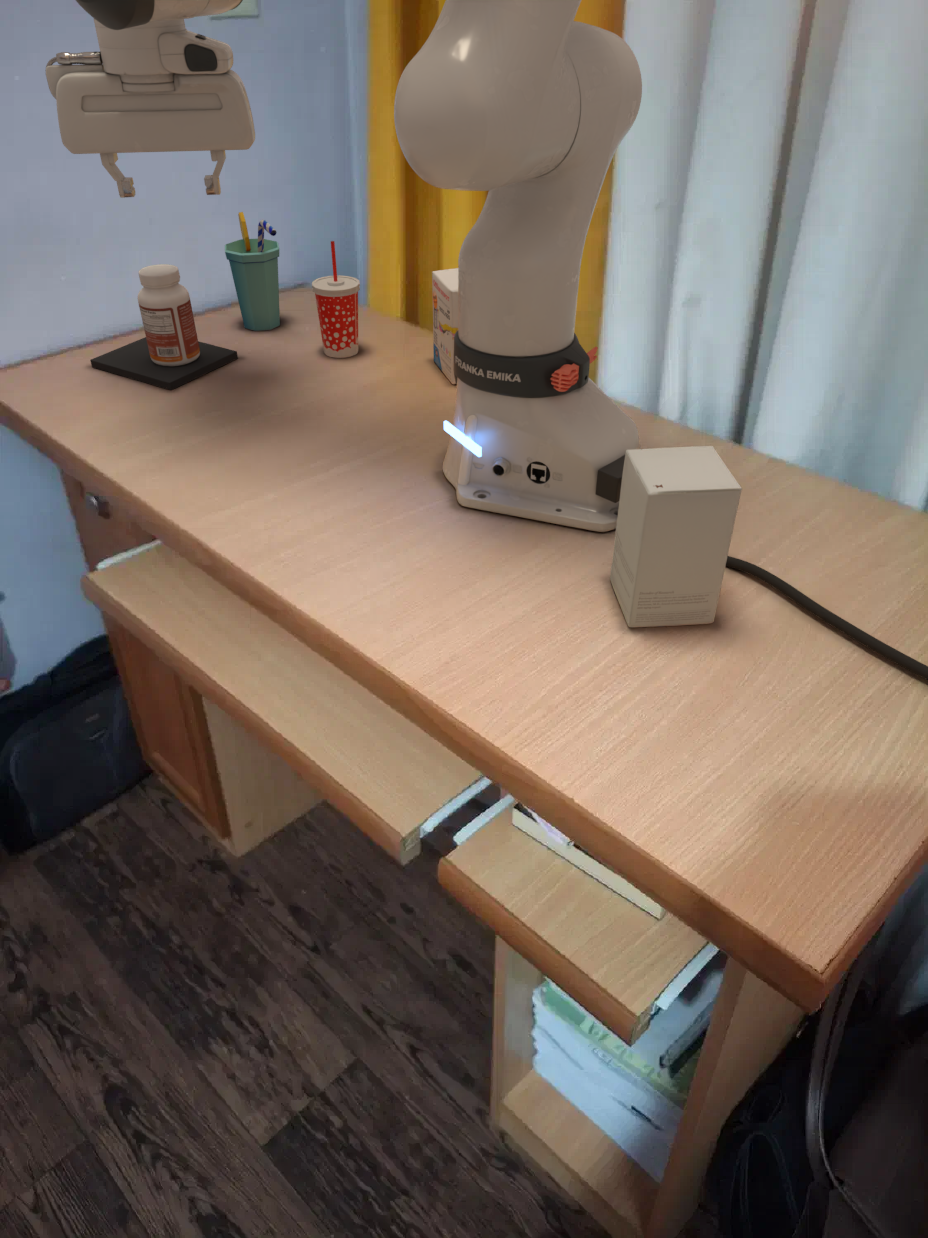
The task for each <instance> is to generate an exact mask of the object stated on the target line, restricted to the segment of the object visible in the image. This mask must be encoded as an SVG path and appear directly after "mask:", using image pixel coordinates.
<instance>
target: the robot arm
mask: <svg viewBox="0 0 928 1238" xmlns="http://www.w3.org/2000/svg"><path fill="white" fill-rule="evenodd" d="M243 1H244V0H75V2H76V3H77V4H78V5H79V6H80V7H81V8H82V9H83V11H85V12H86V13H87V14H88V15H89V16H91V17H92V18H93V23H94V24H93V25H94V28H95V32H96V33H95V34H96V38H97V43H98V47H99V51H82V52H68V51H62V52H58V53H56V54H55V56H54V57H52V58H51V59H49V61H47V63H46V65H45V77H46V81H47V85H48V90H49V91H50V94H51V95H52V97H53V98H54V99H55V100H56V101H55V102H56V113H57V121H58V128H59V134H60V138H61V142H62V145H63V147H65V148H66V150H68V151H69V152H70V153H71V154H73V155H89V154H90V155H91V154H93V155H95V154H99V157H100V161H101V165H102V166H103V168H104V169H105V170H106V171H107V173H108V174H109V175H110V176H111V178H112V179H113V180H114V182H116V187H117V190H118V195H119V198H122V199H123V198H124V199H125V198H135V196H136V188H135V187H134V179H133V176H132V177H131V176H129V177H127V176H125V175H124V174H123V172H122V170H120V168H119V167H118V165H117V164H116V162H117V161H118V160H119V157H118V154H128V153H131V154H133V153H167V152H168V153H169V152H175V153H176V152H205V151H206V152H207V151H208V152H209V153H210V158H211V161H212V162H216V164H215V167H214V169H213V172H212V174H206V175H205V176H204V178H203V181H204V186H205V187H206V188H205V194H206V195H207V196H218V195H219V196H220V195H221V193H222V191H221V189H222V188H221V182H220V174H221V172H222V170H223V168H224V165H225V162H226V159H227V155H226V154H227V153H226V151H243V150H244V151H245V150H247V151H248V150H250V148H252V146H253V145H254V143H255V141H256V131H255V130H256V128H255V123H254V117H253V112H252V108H251V104H250V100H249V96H248V92H247V90H246V86H245V84H244V82H243V80H242V78H241V77H240V76H239V74H238V73H237V72H236V71H234V70H233V69H232V68H233V66H234V52H233V49H232V47H231V46H230V44H228V43H227V42H225V41H222V40H218V39H215V38H211V37H208V36H206V35H203V34H200V33H197V32H194V31H191V30H188V29H187V27H186V23H185V20H187V19H188V20H189V19H193V18H198V17H199V18H200V17H208V16H217V15H221V14H224V13H227V12H229V11H233V10H235V9H237V8H238V7H239V6H240V5H241V4H242V2H243ZM581 2H582V0H445V1H444V4H443V6H442V9H441V11H440V13H439V16H438V18H437V20H436V22H435V25H434V27H433V28H432V30H431V32H430V34H429V36H428V38H427V39H426V40H425V42H424V44H423V45H422V46H421V48H420V49H419V50H418V51H417V53H416V54H415V55H413V57H412V59H410V61H409V62H408V63H407V64H406V66H405V67H404V69H403V71H402V73H401V75H400V78H399V80H398V83H397V86H396V91H395V95H394V102H393V103H394V105H393V106H394V107H393V108H394V109H393V120H394V127H395V133H396V137H397V141H398V144H399V148H400V149H401V152H402V154H403V156H404V158H405V160H406V162H407V163H408V165H409V166H410V168H411V169H412V170H413V172H414V173H415V174H416V175H417V176H418V177H419V178H420V179H422V181H424V182H425V183H427V184H428V185H429V186H433V187H435V188H438V189H441V190H442V189H443V190H450V191H451V190H452V191H465V192H466V191H467V192H469V191H470V192H487V195H486V199H485V202H484V203H483V207H482V209H481V212H480V214H479V216H478V217H477V219H476V221H475V223H474V224H473V226H472V227H471V229H469V231H468V233H467V234H466V236H465V237H464V239H463V241H462V244H461V247H460V250H459V252H458V253H459V254H458V261H457V265H458V266H457V268H458V331H457V332H456V333H455V336H454V377H455V382H456V384H455V385H456V390H455V391H456V392H455V402H454V403H455V404H454V412H453V421H452V423H451V422H450V421H448V420H444V421H443V431H445V432H446V433H447V434H448V435H450V437H449V440H448V446H447V449H446V452H445V456H444V458H443V460H442V461H443V462H442V473H443V474H444V476H445V478H446V479H447V481H448V482H449V483H450V484H451V485H452V486H453V487H454V489H455V495H456V500H457V502H458V504H459V505H460V506H462V507H465V508H469V509H475V510H480V511H485V512H491V513H497V514H502V515H506V516H512V517H518V518H523V519H528V520H534V521H538V522H545V523H551V524H556V525H560V526H565V527H571V528H576V529H581V530H588V531H593V532H600V533H605V532H609V531H613V530H616V526H617V517H618V509H619V500H620V491H621V483H622V475H623V467H624V460H625V453H626V450H632V449H641V438H640V432H639V429H638V426H637V424H636V422H635V421H634V420H633V419H632V418H631V417H630V416H629V415H628V414H627V413H626V412H625V411H624V410H622V408H620V407H619V406H618V404H616V403H615V402H614V401H613V400H612V399H611V398H610V397H609V395H607V394H606V393H605V392H604V391H603V390H602V389H601V388H600V387H599V385H597V384H596V383H595V382H594V381H593V380H592V379H591V378H590V376H589V375H590V367H591V366H590V365H591V364H592V363H593V362H594V361H595V360H597V358H598V355H596V354H597V351H598V349H599V348H598V347H597V346H594V347H593V348H592V349H590V350H589V351H587V352H586V350H585V349H584V348H583V346H582V345H581V344H580V340H579V338H578V335H577V334H576V333H575V330H576V329H575V327H576V317H577V306H578V294H579V285H580V276H581V275H580V274H581V267H582V266H581V265H582V260H583V253H584V248H585V244H586V239H587V235H588V232H589V228H590V224H591V221H592V218H593V215H594V211H595V208H596V206H597V203H598V199H599V196H600V193H601V190H602V187H603V184H604V181H605V178H606V175H607V172H608V171H609V168H610V165H611V162H612V160H613V158H614V156H615V154H616V151H617V149H618V148H619V146H620V144H621V143H622V142H623V140H624V139H625V137H626V135H627V134H628V133H629V131H630V130H631V128H632V127H633V125H634V123H635V121H636V119H637V116H638V114H639V111H640V107H641V102H642V95H643V81H642V80H643V79H642V73H641V68H640V65H639V62H638V59H637V56H636V55H635V53H634V51H633V50H632V47H630V45H629V44H628V43H627V42H626V41H625V40H624V39H623V38H622V37H621V36H619V35H618V34H616V33H615V32H612V31H610V30H607V29H605V28H602V27H600V26H597V25H594V24H593V25H592V24H589V23H585V22H582V21H576V20H575V19H576V16H577V14H578V13H577V12H578V10H579V7H580V5H581ZM55 63H57V64H55ZM725 567H728V568H731V569H735V570H738V571H741V572H744V573H746V574H749V575H751V576H753V577H755V578H756V579H759V580H761V582H764V583H765V584H767V585H769V586H771V587H772V588H774V589H776V590H777V591H779V592H780V593H782V594H783V595H785V596H786V597H788V598H789V600H792V601H793V602H795V603H796V604H797V605H799V606H800V607H802V608H803V609H805V610H806V611H807V612H809V613H810V614H813V615H814V616H816V617H817V618H818V619H820V620H822V621H823V622H824V623H827V624H829V625H830V626H831V627H833V628H835V629H836V630H838V631H840V632H841V633H843V634H844V635H846V636H848V637H850V638H852V639H853V640H854V641H856V642H858V643H860V644H861V645H863V646H865V647H866V648H868V649H870V650H872V651H873V652H874V653H877V654H878V655H880V656H882V657H883V658H886V659H887V660H889V661H890V662H893V663H895V664H897V665H898V666H900V667H901V668H904V669H905V670H908V671H909V672H912V673H913V674H915V675H917V676H919V677H921V678H923V679H924V680H926V681H928V665H926V664H924V663H922V662H920V661H918V660H916V659H915V658H913V657H910V656H909V655H907V654H905V653H903V652H901V651H900V650H898V649H896V648H894V647H892V646H891V645H888V644H887V643H885V642H883V641H881V640H880V639H878V638H876V637H875V636H872V635H871V634H869V633H867V632H866V631H864V630H863V629H861V628H859V627H857V626H856V625H854V624H852V623H850V622H849V621H847V620H845V619H844V618H842V617H841V616H839V615H837V614H836V613H834V612H832V611H830V610H829V609H827V608H825V607H824V606H822V605H821V604H819V603H818V602H817V601H815V600H813V599H812V598H810V597H809V596H807V594H805V593H803V592H802V591H800V590H798V588H796V587H794V586H792V584H790V583H788V582H786V581H785V580H783V579H782V578H780V577H779V576H777V575H775V574H774V573H771V572H770V571H768V570H766V569H765V568H762V567H761V566H758V565H756V564H755V563H751V562H748V561H746V560H743V559H741V558H740V559H739V558H736V557H733V556H730V555H728V557H727V561H726V566H725Z"/></svg>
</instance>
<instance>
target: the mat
mask: <svg viewBox="0 0 928 1238" xmlns="http://www.w3.org/2000/svg"><path fill="white" fill-rule="evenodd" d="M198 343H199V348H200V355H199V357H198V358H197V359H196V360H194V361H193V362H191V363H188V364H185V365H181V366H162V365H158V364H156V363H154V362H153V361H152V360H151V357H150V353H149V349H148V344H147V339H146V336H144V337H142V338H140V339H137V340H134V341H133V342H130V343H128V344H125V345H123V346H120V347H118V348H116V349H113V350H111V351H109V352H105V353H103V354H101V355H98V356H96V357H94V358H91V359H90V361H89V362H90V364H91V367H92V368H94V369H97V370H101V371H105V372H108V373H110V374H114V375H118V376H121V377H124V378H128V379H130V380H134V381H138V382H141V383H145V384H149V385H152V386H155V387H158V388H161V389H166V390H169V391H173V390H175V389H177V388H179V387H181V386H183V385H185V384H187V383H189V382H192V381H194V380H196V379H199V378H200V377H202V376H204V375H206V374H208V373H210V372H213V371H214V370H216V369H219V368H221V367H223V366H225V365H227V364H229V363H232V362H234V361H235V360H238V359H239V356H238V351H237V350H234V349H229V348H226V347H222V346H218V345H214V344H210V343H206V342H202V341H199V340H198Z"/></svg>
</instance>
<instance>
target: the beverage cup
mask: <svg viewBox="0 0 928 1238" xmlns="http://www.w3.org/2000/svg"><path fill="white" fill-rule="evenodd" d="M330 250H331V264H332V275H326V276H322V277H321V276H320V277H319V278H315V279H314V280H313V281H312V282H311V289H312V292H313V293H314V296H315V297H314V298H315V303H316V309H317V315H318V321H319V328H320V336H321V341H322V348H323V353H324V355H326V356H327V357H329V358H333V359H334V358H336V359H343V358H350V357H354V356H356V355H357V354H358V353H359V291H361V290H360V289H361V288H360V287H361V282H360V280H359V279H358V278H357V277H353V276H349V275H339V274H338V269H337V257H336V244H335V240H331V241H330Z"/></svg>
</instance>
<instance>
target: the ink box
mask: <svg viewBox="0 0 928 1238" xmlns="http://www.w3.org/2000/svg"><path fill="white" fill-rule="evenodd" d="M431 279H432V280H431V282H432V285H431V286H432V288H431V289H432V322H433V323H432V327H433V328H432V340H433V342H432V343H433V344H432V345H433V346H432V347H433V362H434V363H435V364H436V366H437V367H438V368H439V369H440V371H441V372H442V373H443V374H444V376H445V377H446V379H448V381H449V382H450V383H451V384H452V385H456V382H455V377H454V336H455V333H456V332H457V331H458V267H455V268H448V269H447V268H446V269H439V270H433V271H431Z"/></svg>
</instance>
